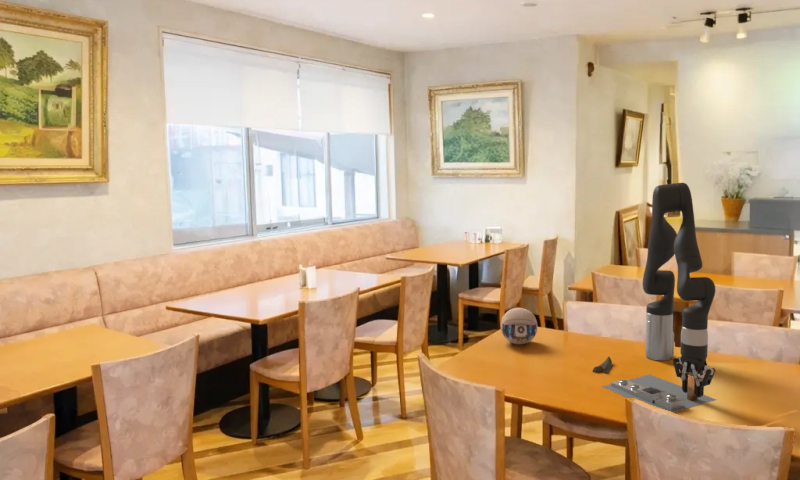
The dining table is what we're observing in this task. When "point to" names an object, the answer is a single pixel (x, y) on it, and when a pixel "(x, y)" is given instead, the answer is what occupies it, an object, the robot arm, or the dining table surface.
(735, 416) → the dining table surface
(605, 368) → the dark grey rock
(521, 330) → the ornament
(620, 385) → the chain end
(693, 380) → the pin
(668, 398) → the chain end
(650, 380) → the grey flat rectangular plate
